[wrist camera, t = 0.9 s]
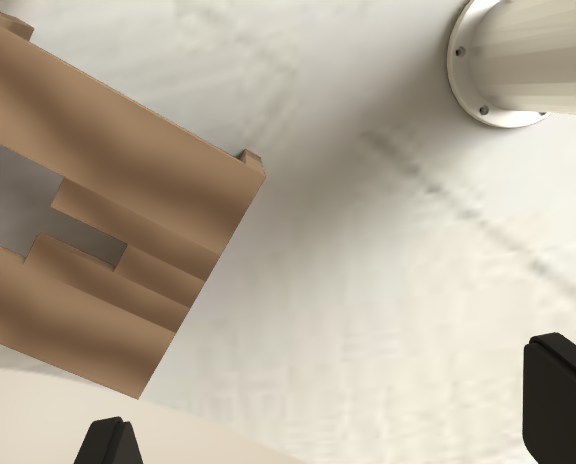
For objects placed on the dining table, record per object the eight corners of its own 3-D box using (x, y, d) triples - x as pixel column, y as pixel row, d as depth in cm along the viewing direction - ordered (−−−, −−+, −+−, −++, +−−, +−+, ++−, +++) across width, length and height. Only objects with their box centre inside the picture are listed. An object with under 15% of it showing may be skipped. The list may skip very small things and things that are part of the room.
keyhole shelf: (15, 17, 36) (-68, -11, 26) (260, 157, 41) (265, 177, 31) (-72, 231, 40) (-171, 275, 30) (160, 334, 45) (137, 399, 35)
